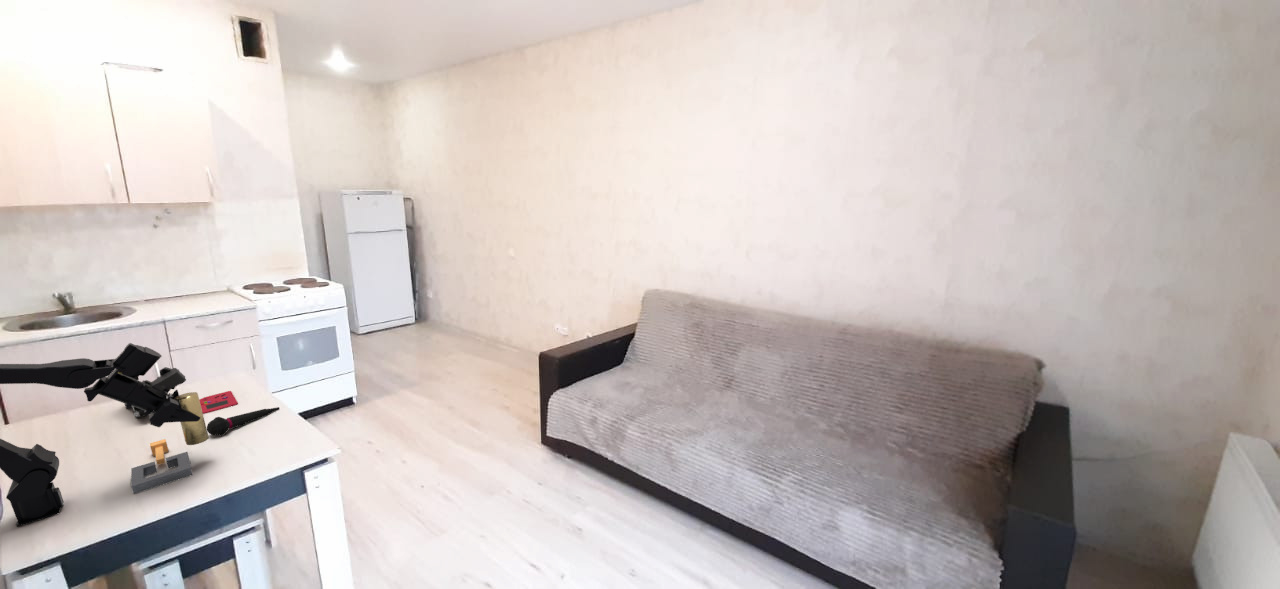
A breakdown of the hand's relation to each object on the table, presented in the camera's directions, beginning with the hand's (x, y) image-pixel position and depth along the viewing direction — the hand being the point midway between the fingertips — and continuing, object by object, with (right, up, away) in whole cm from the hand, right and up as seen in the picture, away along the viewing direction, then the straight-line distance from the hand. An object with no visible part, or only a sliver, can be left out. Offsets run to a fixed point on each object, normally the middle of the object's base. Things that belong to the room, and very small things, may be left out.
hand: (198, 416), depth 134 cm
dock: (-6, -15, -3) cm, 16 cm away
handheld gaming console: (-27, -5, +38) cm, 47 cm away
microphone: (-5, -8, +23) cm, 25 cm away
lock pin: (-14, -13, +4) cm, 19 cm away
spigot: (-1, -7, +1) cm, 7 cm away
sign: (-47, -7, +31) cm, 56 cm away
